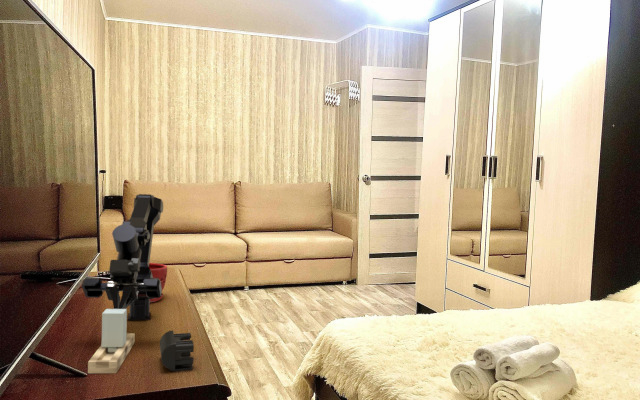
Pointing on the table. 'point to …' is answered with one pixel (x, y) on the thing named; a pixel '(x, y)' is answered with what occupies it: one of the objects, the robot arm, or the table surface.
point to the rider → (114, 328)
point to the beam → (110, 357)
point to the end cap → (177, 351)
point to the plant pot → (158, 275)
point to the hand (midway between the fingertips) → (116, 317)
